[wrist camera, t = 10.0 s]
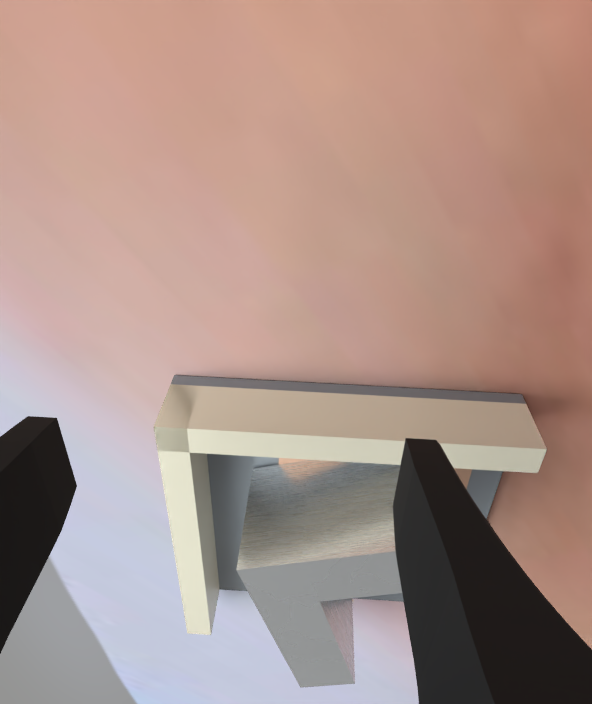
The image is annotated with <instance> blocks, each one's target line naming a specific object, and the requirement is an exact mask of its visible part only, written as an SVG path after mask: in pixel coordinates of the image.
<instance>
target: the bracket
mask: <svg viewBox="0 0 592 704" xmlns="http://www.w3.org/2000/svg"><path fill="white" fill-rule="evenodd" d="M399 470H400V465H391V464H374V463H357V462H340V461H323V460H305V461H298V462H292V463H285V464H279V465H273V466H266V467H260V468H253V470H252V477H251V483H250V489H249V495H248V501H247V507H246V513H245V519H244V525H243V532H242V538H241V544H240V550H239V556H238V562H237V568H236V571H237V572H238V574H239V576H240V578H241V580H242V582H243V583H244V585H245V587H246V589H247V591H248V592H249V594H250V596H251V598H252V600H253V602H254V603H255V605H256V607H257V609H258V611H259V613H260V614H261V616H262V618H263V620H264V622H265V623H266V625H267V627H268V629H269V631H270V633H271V634H272V636H273V638H274V640H275V642H276V644H277V645H278V647H279V649H280V651H281V653H282V654H283V656H284V658H285V660H286V662H287V664H288V665H289V667H290V669H291V671H292V673H293V675H294V676H295V678H296V680H297V682H298V684H299V685H300V687H314V686H328V685H341V684H355V672H354V641H353V609H352V598H359V597H368V596H378V595H388V594H397V593H402V588H401V582H400V576H399V571H398V565H397V558H396V551H395V536H394V518H393V502H394V496H395V491H396V486H397V481H398V476H399Z"/></svg>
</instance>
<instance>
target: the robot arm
mask: <svg viewBox="0 0 592 704" xmlns="http://www.w3.org/2000/svg"><path fill="white" fill-rule="evenodd" d="M76 487H77V485H76V481H75V478H74V475H73V471H72V468H71V465H70V461H69V458H68V454H67V451H66V448H65V444H64V441H63V437H62V434H61V431H60V427H59V424H58V420H57V418H48V417H30V416H28V417H27V418H25V419H24V420H22V421H21V422H19V423H18V424H17V425H15V426H14V427H13V428H11V429H10V430H9V431H7V432H6V433H5V434H4V435H2V436H1V437H0V653H1V651H2V649H3V647H4V645H5V642H6V640H7V638H8V636H9V634H10V631H11V630H12V628H13V626H14V624H15V622H16V620H17V618H18V616H19V614H20V612H21V610H22V608H23V606H24V604H25V602H26V600H27V598H28V596H29V594H30V592H31V590H32V588H33V586H34V585H35V583H36V580H37V579H38V577H39V575H40V573H41V571H42V569H43V566H44V565H45V563H46V560H47V559H48V557H49V555H50V553H51V551H52V549H53V547H54V545H55V543H56V541H57V539H58V536H59V534H60V532H61V530H62V527H63V524H64V522H65V519H66V516H67V514H68V511H69V508H70V505H71V502H72V499H73V496H74V493H75V490H76ZM393 518H394V536H395V551H396V558H397V565H398V571H399V576H400V582H401V588H402V594H403V600H404V606H405V611H406V617H407V623H408V629H409V635H410V640H411V646H412V652H413V658H414V664H415V671H416V679H417V686H418V696H419V704H592V650H591V648H590V647H589V646H588V645H587V644H586V643H585V642H584V641H583V640H582V639H581V638H580V636H579V635H578V634H577V633H576V632H575V631H574V630H573V629H572V628H571V627H570V626H569V624H568V623H567V622H566V621H565V620H564V619H563V618H562V616H561V615H560V614H559V613H558V612H557V611H556V610H555V608H554V607H553V606H552V605H551V604H550V603H549V601H548V600H547V599H546V598H545V597H544V596H543V594H542V593H541V592H540V591H539V589H538V588H537V587H536V586H535V585H534V583H533V582H532V581H531V580H530V578H529V577H528V576H527V575H526V573H525V572H524V571H523V569H522V568H521V567H520V565H519V564H518V563H517V561H516V560H515V559H514V558H513V556H512V555H511V554H510V552H509V551H508V550H507V548H506V547H505V545H504V544H503V543H502V541H501V540H500V539H499V537H498V536H497V534H496V533H495V531H494V530H493V528H492V527H491V526H490V524H489V523H488V521H487V520H486V518H485V517H484V515H483V514H482V512H481V511H480V509H479V508H478V507H477V505H476V503H475V502H474V500H473V499H472V497H471V496H470V494H469V493H468V491H467V489H466V488H465V486H464V484H463V483H462V481H461V480H460V478H459V476H458V475H457V473H456V471H455V470H454V468H453V466H452V465H451V463H450V461H449V459H448V458H447V456H446V454H445V452H444V450H443V449H442V447H441V445H440V444H439V443H438V441H437V440H431V439H414V438H406V439H405V444H404V449H403V455H402V460H401V465H400V470H399V476H398V481H397V486H396V491H395V496H394V502H393Z"/></svg>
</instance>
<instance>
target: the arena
mask: <svg viewBox="0 0 592 704" xmlns="http://www.w3.org/2000/svg"><path fill="white" fill-rule="evenodd" d="M154 432H155V438H156V444H157V450H158V456H159V462H160V468H161V474H162V481H163V487H164V493H165V499H166V505H167V511H168V517H169V523H170V529H171V536H172V542H173V548H174V554H175V560H176V566H177V572H178V578H179V585H180V591H181V597H182V603H183V609H184V615H185V621H186V627H187V633H190V634H204V635H211V632H212V627H213V622H214V616H215V611H216V606H217V600H218V595H219V589H223V590H238V591H247V589H246V587H245V585H244V583H243V582H242V580H241V578H240V576H239V574H238V572H237V571H236V568H237V562H238V556H239V550H240V544H241V538H242V532H243V525H244V519H245V513H246V507H247V501H248V495H249V489H250V483H251V477H252V470H253V468H260V467H266V466H273V465H279V464H285V463H292V462H298V461H305V460H323V461H340V462H357V463H374V464H391V465H401V460H402V455H403V449H404V444H405V439H406V438H414V439H431V440H437V441H438V443H439V444H440V445H441V447H442V449H443V450H444V452H445V454H446V456H447V458H448V459H449V461H450V463H451V465H452V466H453V468H454V470H455V471H456V473H457V475H458V476H459V478H460V480H461V481H462V483H463V484H464V486H465V488H466V489H467V491H468V493H469V494H470V496H471V497H472V499H473V500H474V502H475V503H476V505H477V507H478V508H479V509H480V511H481V512H482V514H483V515H484V517H485V518H486V519H487V516H488V513H489V510H490V507H491V504H492V502H493V499H494V496H495V493H496V490H497V487H498V484H499V481H500V478H501V475H502V473H503V471H510V472H527V473H538V471H539V468H540V466H541V463H542V461H543V458H544V456H545V453H546V451H547V448H546V446H545V444H544V441H543V439H542V437H541V435H540V433H539V431H538V428H537V426H536V424H535V422H534V420H533V418H532V415H531V413H530V411H529V409H528V407H527V404H526V402H525V400H524V398H523V396H522V394H510V393H491V392H473V391H455V390H436V389H418V388H400V387H381V386H363V385H345V384H326V383H308V382H290V381H271V380H253V379H235V378H216V377H198V376H180V375H174V377H173V380H172V382H171V385H170V387H169V390H168V392H167V395H166V397H165V400H164V402H163V405H162V407H161V410H160V412H159V415H158V417H157V420H156V422H155V425H154ZM358 599H373V600H388V601H403V602H404V600H403V594H402V593H397V594H388V595H378V596H368V597H359V598H358Z"/></svg>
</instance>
